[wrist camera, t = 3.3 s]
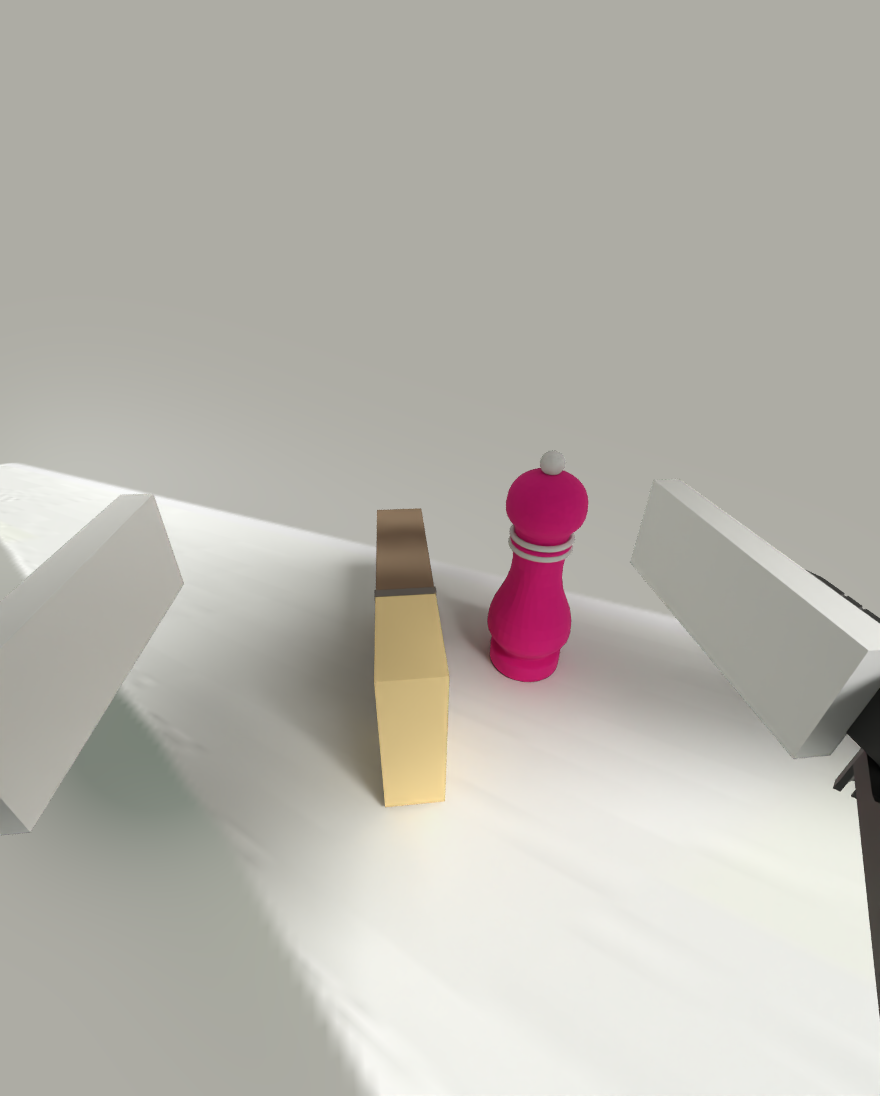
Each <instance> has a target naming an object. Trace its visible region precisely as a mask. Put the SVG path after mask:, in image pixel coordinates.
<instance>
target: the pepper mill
mask: <svg viewBox="0 0 880 1096" xmlns="http://www.w3.org/2000/svg"><path fill="white" fill-rule="evenodd" d="M540 467H541V468H538V469H533V470H530V471H527V472H525V473H523V474H522V475H520V476H519V477H518V478H517V479H516V480H515V481H514V482H513V484H512V485H511V487H510V489H509V492H508V496H507V500H506V511H507V515H508V517H509V519H510V521H511V522H512V523H513V525H512V526H511V528H510V537H509V541H508V542H509V546H510V548H511V549H512V551H513V559H512V564H511V568H510V571H509V573H508V575H507V577H506V579H505V581H504V582H503V584H502V585H501V587H500V588H499V590H498V591H497V592H496V594H495V596H494V598H493V600H492V602H491V605H490V608H489V613H488V620H487V622H488V628H489V631H490V633H491V635H492V637H491V645H490V658H491V661H492V663H493V664H494V666H495V667H496V668H497V669H498V671H500V672H501V673H502V674H504V675H505V676H507V677H509V678H511V679H514V680H518V681H522V682H534V681H540V680H542V679H545V678H547V677H549V676H550V675H551V674H552V673H553V672H554V671H555V669H556V667H557V664H558V659H559V654H560V648H561V647H562V646H563V645H564V644H565V643H566V642H567V640H568V637H569V634H570V629H571V614H570V607H569V605H568V602H567V599H566V596H565V593H564V590H563V582H562V571H563V564H564V561H565V559H566V558H567V557H568V556H569V555H571V553H572V551H573V545H572V544H573V543H574V541H575V535H574V533H573V532H575V531H576V530H577V529H579V528H580V527H581V525H582V524H583V522H584V520H585V519H586V515H587V511H588V496H587V493H586V490H585V488H584V486H583V485H582V483H581V482H580V481H579V480H578V479H577V478H576V477H574V476H573V475H571V474H570V473H568V472H566V471H563V469H564V468H565V458H564V456H563V455H562V453H560V452H558V451H553V450H552V451H548V452H546V453H545V454H544V455H543V456H542V458H541V460H540Z"/></svg>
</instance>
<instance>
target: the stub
mask: <svg viewBox="0 0 880 1096" xmlns="http://www.w3.org/2000/svg"><path fill="white" fill-rule="evenodd" d="M374 687H375V698H376V709H377V721H378V732H379V743H380V754H381V766H382V777H383V788H384V799H385V807H393V806H403V805H413V804H423V803H432V802H442V801H445V785H446V757H447V729H448V701H449V671H448V665H447V659H446V653H445V647H444V641H443V635H442V629H441V623H440V617H439V611H438V605H437V599H436V588H435V587H424V588H406V589H387V590H375V655H374Z"/></svg>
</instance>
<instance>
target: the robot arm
mask: <svg viewBox="0 0 880 1096" xmlns="http://www.w3.org/2000/svg"><path fill="white" fill-rule="evenodd" d="M630 563H631V564H632V565H633V567H634V568H635V569H636V570H637V571H638V573H639V574H640V575H641V576H642V577H643V579H644V580H645V581H646V582H647V584H648V585H649V586H650V587H651V588H652V589H653V591H654V592H655V593H656V594H657V595H658V596H659V598H660V599H661V600H662V602H663V603H664V604H665V605H666V606H667V607H668V609H669V610H670V611H671V612H672V614H673V615H674V616H675V617H676V618H677V620H678V621H679V622H680V623H681V624H682V626H683V627H684V628H685V629H686V630H687V632H688V633H689V634H690V635H691V636H692V638H693V639H694V640H695V641H696V642H697V644H698V645H699V646H700V647H701V648H702V650H703V651H704V652H705V653H706V654H707V656H708V657H709V658H710V659H711V661H712V662H713V663H714V664H715V665H716V667H717V668H718V669H719V670H720V671H721V673H722V674H723V675H724V676H725V677H726V679H727V680H728V681H729V682H730V683H731V685H732V686H733V687H734V688H735V689H736V691H737V692H738V693H739V694H740V695H741V697H742V698H743V699H744V700H745V701H746V703H747V704H748V705H749V706H750V707H751V709H752V710H753V711H754V712H755V713H756V715H757V716H758V717H759V718H760V719H761V721H762V722H763V723H764V724H765V725H766V727H767V728H768V729H769V730H770V731H771V733H772V734H773V735H774V736H775V737H776V739H777V740H778V741H779V742H780V744H781V745H782V746H783V747H784V748H785V750H786V751H787V752H788V753H789V754H790V756H791V757H792V758H793V759H796V758H807V757H817V756H828V755H831V754H832V753H833V751H834V750H835V749H836V747H837V746H838V745H839V743H840V742H841V741H842V739H843V738H844V737H845V736H846V734H848V735H849V736H850V737H851V738H852V739H853V740H854V741H855V742H856V743H857V744H858V745H859V746H860V747H861V749H860V750H859V752H858V753H857V754H856V755H855V756H854V758H853V759H852V760H851V761H850V763H849V764H848V765H847V766H846V768H845V769H844V770H843V771H842V772H841V774H840V775H839V776H838V777H837V779H836V780H835V783H834V787H833V788H834V789H836V790H838V791H841V790H842V789H843V788H844V787H845V786H846V784H847V783H848V782H850V781H855V788H856V790H855V791H854V792H853V793H852V794H851V797H854V798H856V799H857V807H858V816H859V826H860V835H861V845H862V854H863V864H864V873H865V883H866V892H867V902H868V911H869V921H870V930H871V940H872V949H873V958H874V968H875V977H876V987H877V996H878V1006H879V1015H880V618H878V617H877V616H876V615H874V614H873V613H871V612H870V611H869V610H867V609H862V605H860V604H859V603H857V602H856V601H855V600H853V599H852V598H850V597H849V596H847V597H846V596H844V593H843V592H842V591H840V590H839V589H838V588H836V587H835V586H834V585H832V584H831V583H829V582H828V581H826V580H825V579H823V578H822V577H820V576H818V575H816V574H813V573H811V572H809V571H807V570H805V569H803V568H802V567H800V566H799V565H798V564H796V563H795V562H793V561H792V560H791V559H789V558H788V557H787V556H785V555H784V554H783V553H781V552H780V551H778V550H777V549H776V548H774V547H773V546H772V545H770V544H769V543H767V542H766V541H765V540H763V539H762V538H761V537H759V536H758V535H756V534H755V533H753V532H752V531H751V530H749V529H748V528H747V527H745V526H744V525H742V524H741V523H740V522H738V521H737V520H735V519H734V518H733V517H731V516H730V515H729V514H727V513H726V512H725V511H723V510H722V509H720V508H719V507H717V506H716V505H715V504H713V503H712V502H711V501H709V500H708V499H707V498H705V497H704V496H702V495H701V494H699V493H698V492H697V491H695V490H694V489H693V488H691V487H690V486H689V485H687V484H686V483H684V482H683V481H682V480H680V479H664V480H663V479H661V480H653V483H652V487H651V490H650V494H649V497H648V501H647V505H646V508H645V512H644V515H643V519H642V522H641V526H640V530H639V533H638V536H637V540H636V543H635V547H634V550H633V554H632V558H631V561H630ZM183 585H184V582H183V579H182V576H181V573H180V570H179V568H178V565H177V562H176V559H175V556H174V553H173V550H172V547H171V544H170V541H169V538H168V535H167V533H166V530H165V527H164V524H163V521H162V518H161V515H160V512H159V509H158V506H157V503H156V500H155V498H154V495H153V494H133V495H120V496H119V497H117V498H116V499H115V500H114V501H113V502H112V503H111V504H110V505H108V506H107V507H106V508H105V509H104V510H103V511H102V512H101V513H99V514H98V515H97V516H96V517H95V518H94V519H93V520H91V521H90V522H89V523H88V524H87V525H86V526H85V527H84V528H82V529H81V530H80V531H79V532H78V533H77V534H76V535H75V536H73V537H72V538H71V539H70V540H69V541H68V542H67V543H65V544H64V545H63V546H62V547H61V548H60V549H59V550H58V551H56V552H55V553H54V554H53V555H52V556H51V557H50V558H49V559H47V560H46V561H45V562H44V563H43V564H42V565H41V566H40V567H38V568H37V569H36V570H35V571H34V572H33V573H32V574H30V575H29V576H28V577H27V578H26V579H25V580H24V581H23V582H21V583H20V584H19V585H18V586H17V587H16V588H15V589H14V590H12V591H11V592H10V593H9V594H8V595H7V596H6V597H5V598H3V599H2V600H1V601H0V835H9V834H20V833H30V832H31V831H32V829H33V828H34V826H35V824H36V823H37V821H38V819H39V818H40V816H41V815H42V813H43V811H44V810H45V808H46V806H47V805H48V803H49V801H50V800H51V798H52V797H53V795H54V794H55V792H56V790H57V789H58V787H59V785H60V784H61V782H62V781H63V779H64V777H65V776H66V774H67V772H68V771H69V769H70V768H71V766H72V764H73V763H74V761H75V760H76V758H77V756H78V754H79V753H80V751H81V750H82V748H83V746H84V745H85V743H86V742H87V740H88V738H89V737H90V735H91V733H92V732H93V730H94V729H95V727H96V725H97V724H98V722H99V720H100V719H101V717H102V716H103V714H104V713H105V711H106V709H107V708H108V706H109V704H110V703H111V701H112V700H113V698H114V696H115V695H116V693H117V691H118V690H119V688H120V687H121V685H122V683H123V682H124V680H125V678H126V677H127V675H128V674H129V672H130V670H131V669H132V667H133V666H134V664H135V662H136V661H137V659H138V657H139V656H140V654H141V653H142V651H143V649H144V648H145V646H146V644H147V643H148V641H149V640H150V638H151V636H152V635H153V633H154V632H155V630H156V628H157V627H158V625H159V623H160V622H161V620H162V619H163V617H164V615H165V614H166V612H167V610H168V609H169V607H170V606H171V604H172V602H173V601H174V599H175V597H176V596H177V594H178V593H179V591H180V589H181V588H182V586H183Z"/></svg>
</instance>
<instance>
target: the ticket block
mask: <svg viewBox="0 0 880 1096" xmlns="http://www.w3.org/2000/svg"><path fill="white" fill-rule="evenodd" d="M424 587H434V584H433V578H432V571H431V565H430V559H429V553H428V547H427V541H426V536H425V529H424V523H423V517H422V511H421V509H394V510H377V553H376V590H387V589H406V588H424Z"/></svg>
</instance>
